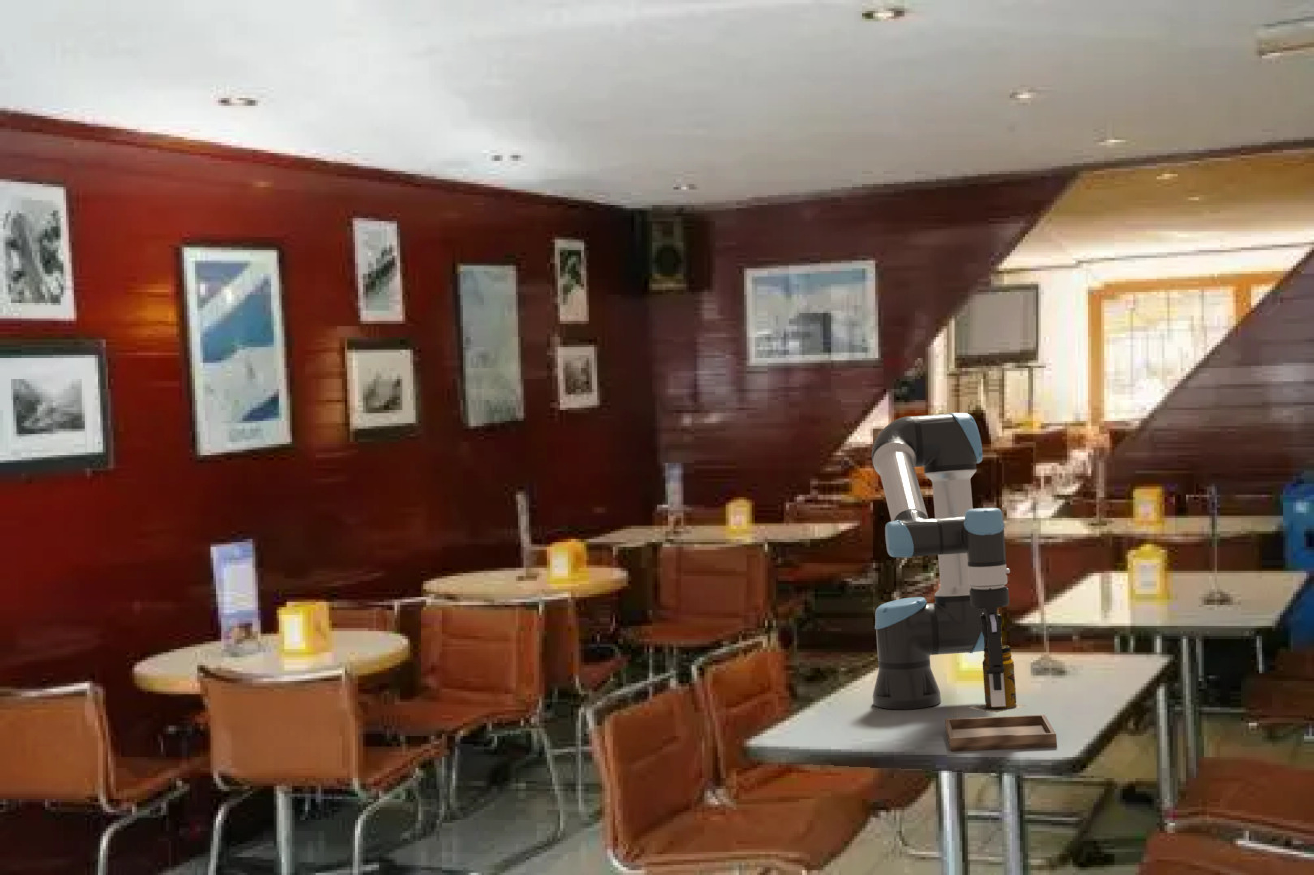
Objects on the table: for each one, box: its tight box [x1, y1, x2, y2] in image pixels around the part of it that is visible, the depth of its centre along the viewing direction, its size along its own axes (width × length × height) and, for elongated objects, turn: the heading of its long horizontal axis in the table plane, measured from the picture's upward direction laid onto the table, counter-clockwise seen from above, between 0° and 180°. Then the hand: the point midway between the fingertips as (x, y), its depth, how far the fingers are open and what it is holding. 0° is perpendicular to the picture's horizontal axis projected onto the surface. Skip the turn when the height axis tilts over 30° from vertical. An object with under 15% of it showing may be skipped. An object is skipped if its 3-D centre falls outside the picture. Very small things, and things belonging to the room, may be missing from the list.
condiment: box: [969, 644, 1027, 713], centre depth 294 cm, size 7×8×12 cm
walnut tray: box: [944, 714, 1058, 752], centre depth 295 cm, size 20×18×2 cm
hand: (996, 702), depth 295 cm, fingers closed on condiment, 6 cm apart
